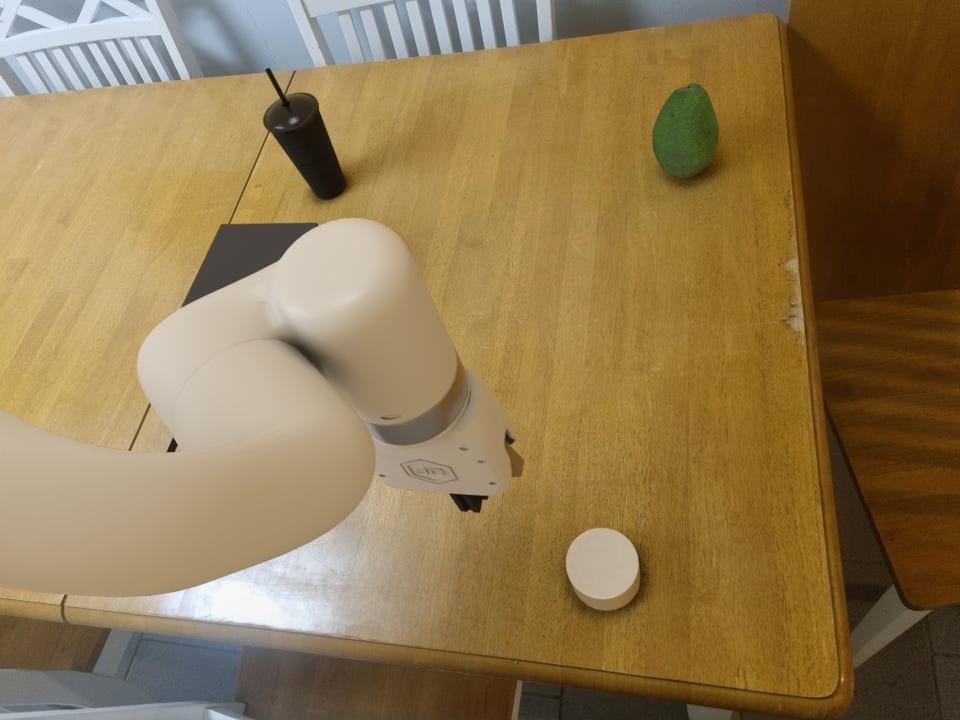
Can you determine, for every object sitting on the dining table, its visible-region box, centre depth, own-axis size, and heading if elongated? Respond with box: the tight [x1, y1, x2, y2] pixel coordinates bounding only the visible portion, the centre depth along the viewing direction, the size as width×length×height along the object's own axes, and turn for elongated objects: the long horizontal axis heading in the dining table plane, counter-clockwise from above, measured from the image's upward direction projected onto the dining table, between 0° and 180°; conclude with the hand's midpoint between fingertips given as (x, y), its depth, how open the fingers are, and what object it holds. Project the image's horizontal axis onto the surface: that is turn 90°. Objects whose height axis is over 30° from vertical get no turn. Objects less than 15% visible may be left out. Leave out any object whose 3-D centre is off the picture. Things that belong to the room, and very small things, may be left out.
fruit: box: [651, 82, 720, 179], centre depth 88 cm, size 8×8×12 cm
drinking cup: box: [262, 67, 347, 201], centre depth 98 cm, size 8×8×20 cm
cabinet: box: [179, 222, 320, 309], centre depth 90 cm, size 16×14×10 cm
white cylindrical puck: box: [565, 527, 642, 612], centre depth 66 cm, size 6×6×4 cm
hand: (474, 495), depth 61 cm, fingers closed
